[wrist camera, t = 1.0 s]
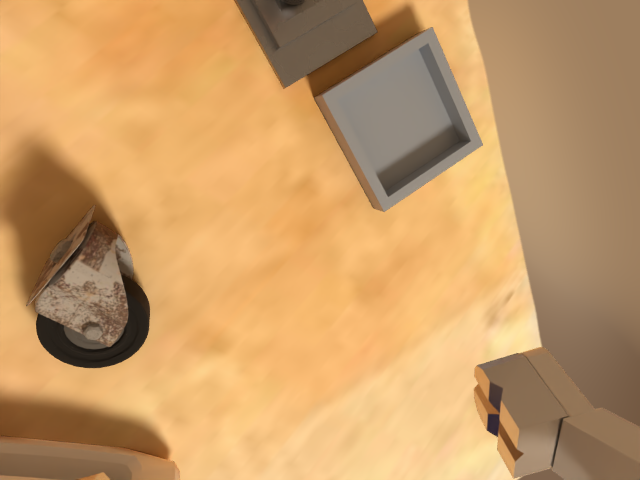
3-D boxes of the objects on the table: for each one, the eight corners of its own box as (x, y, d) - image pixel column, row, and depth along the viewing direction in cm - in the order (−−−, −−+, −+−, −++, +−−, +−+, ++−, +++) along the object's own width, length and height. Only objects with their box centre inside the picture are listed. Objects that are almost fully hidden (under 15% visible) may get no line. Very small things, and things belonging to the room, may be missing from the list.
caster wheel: (114, 349, 44) (7, 297, 40) (191, 263, 43) (89, 199, 38) (106, 401, 39) (-21, 348, 34) (194, 305, 37) (75, 235, 32)
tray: (313, 97, 43) (321, 95, 40) (418, 32, 45) (432, 26, 42) (373, 208, 47) (384, 211, 44) (467, 144, 48) (482, 144, 46)
